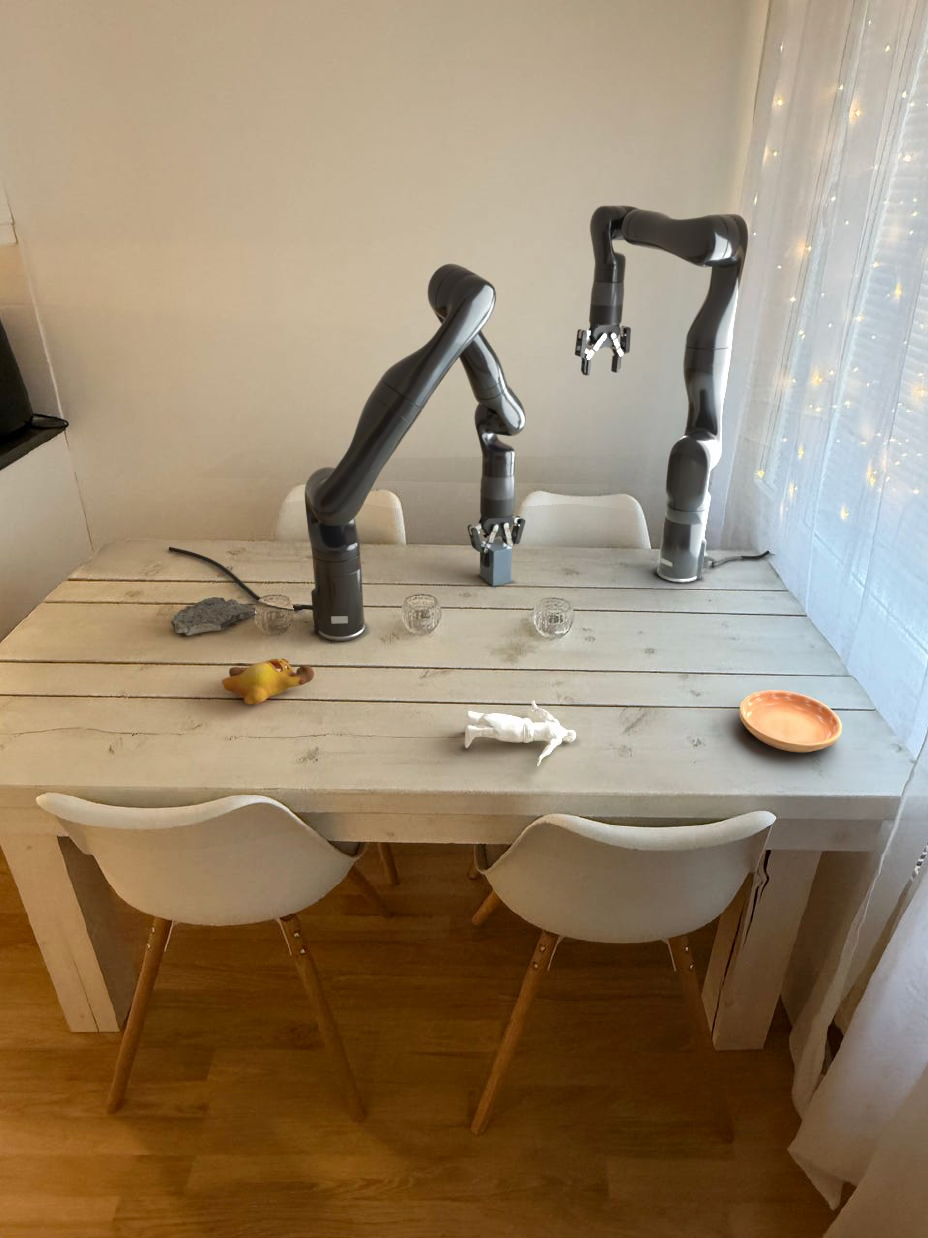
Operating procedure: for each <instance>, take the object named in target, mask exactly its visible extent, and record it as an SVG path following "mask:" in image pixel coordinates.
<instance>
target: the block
mask: <svg viewBox="0 0 928 1238" xmlns="http://www.w3.org/2000/svg"><path fill="white" fill-rule="evenodd" d="M512 561H513V547H512V548H511V547H510V546H508V545H507V544H506V543H504V542H503V541H502V539H500V538H494V541H493V543H492V544H491V546H490V549H489V567H486V568H485V567H484V566H483V565H482V564H481V563H480V562H479V576H480V577H481V578H482V579H483V580H485V581H486V582H487V583H488V584H490V585H491V586H492V587H495V586H496V587H497V586H500V585H503V584H509V583H511V582H512Z"/></svg>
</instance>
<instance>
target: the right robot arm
mask: <svg viewBox="0 0 928 1238" xmlns="http://www.w3.org/2000/svg"><path fill="white" fill-rule="evenodd" d="M589 233H590V241H591V245H592V246H591V247H592V252H593V258H594V267H593V279H592V280H593V281H592V286H591V292H590V304H589V316H588V317H589V318H588V322H589V328H588V329H581V328H579V329H577V332H576V340H575V348H574V355H575V356H576V357H579V358H581V366H580V372H581V374H582V375H583V376H590V375H591V366H592V359H591V358H592V357H593V356H594V354H595V353H596V352H597V351H598V350H599V349H604V348H607V349H610V350H611V351H612V354H613V355H612V356H611V357H612V358H611V365H610V366H611V368H610V370H611V372H612V373H615V374H616V373H619V372H620V370H621V366H622V357H623V356H624V355H625V354H629V353H630V351H631V336H632V335H631V334H632V333H631V332H632V328H631V327H630V326H626V325H622V326H621V327H620V325H621V324H622V321H623V320H622V319H623V310H624V299H625V278H626V266H627V257H626V256H625V254H623V253H621V252H618V251H615V250H614V245H613V241H625V242H626V243H627V244H629V245H632V246H636V247H641V248H646V249H651V250H656V251H662V252H666V253H668V254H670V255H673V256H676V257H677V258H679V259H681V260H683V261H685V262H687V263H689V264H691V265H693V266H696V267H699V268H711V269H710V270H711V271H710V279H709V286H708V289H707V293H706V295H705V298H704V300H703V302H702V304H701V306H700V307H699V310H698V311H697V312H696V314H695V316H694V318H693V320H692V322H691V324H690V326H689V328H688V330H687V332H686V336H685V340H684V341H685V342H684V349H683V350H684V351H683V361H682V362H683V363H682V375H683V380H684V381H683V382H684V386H685V391H686V396H687V404H688V405H687V418H686V424H685V430H684V435H683V437H681V438H680V439H678V440H677V441H676V442H675V443H674V444H673V445H672V447H671V449H670V452H669V456H668V461H667V470H666V480H665V481H666V482H665V493H666V504H665V510H664V517H663V526H662V533H661V542H660V548H659V555H658V563H657V567H656V574H657V575H658V577H660V578H661V579H664V580H666V581H669V582H673V583H691V582H694V581H696V580H701V578H702V572H703V569H708V566H709V565H708V564H709V561H710V562H711V566H712V567H714V568H715V567H718V566H720V565H722V564H724V563H726V562H728V561H731V560H759V559H762V558H765V557H766V556H768V555H769V554H770V553H769V551H768V550H766V551H765V552H763V553H761V554H758V555H731V556H726V557H724V558H722V559H720V560H718V561H717V560H716V558H714V557H711V556H710V555H709V554H708V553H707V552H706V548H707V540H706V539H705V532H706V526H707V522H708V521H707V520H708V515H709V508H710V503H711V494H710V493H709V491H708V490H709V489H708V488H709V481H710V476H711V475H710V474H711V470H712V469H713V468H714V467H715V466H716V465H717V463H718V462H719V460H720V458H721V456H722V445H723V444H722V440H723V439H722V433H723V431H722V430H723V427H722V424H723V423H722V422H723V419H722V418H723V405H724V399H725V394H726V389H727V382H728V374H729V368H730V362H731V353H732V344H733V330H734V323H735V316H736V310H737V301H738V296H739V290H740V286H741V280H742V275H743V270H744V267H745V262H746V258H747V254H748V253H747V252H748V245H749V229H748V224H747V222H746V220H745V219H744V218H743V216H741V215H740V214H736V213H723V214H721V213H720V214H719V213H718V214H707V215H704V216H700V217H692V218H683V219H682V218H681V219H680V218H679V219H678V218H672V217H671V216H669V215H667V214H665V213H664V212H659V211H654V210H648V209H640V208H639V207H635V206H632V205H601V206H598V207H597V208H596V209H595V210H594V212H593V213H592V215H591V218H590V222H589ZM618 337H619V340H618Z"/></svg>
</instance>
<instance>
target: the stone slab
mask: <svg viewBox="0 0 928 1238" xmlns="http://www.w3.org/2000/svg"><path fill="white" fill-rule="evenodd" d="M255 610H256V607H255V606H253V605H252V604H246V603H243V604H241V603H239V601H237V600H236V599H232V598H231V599H228V600H226V599H225V598H224V597H217V596H212V597H208V598H203V600H200V601H198V602H196V603H195V604H193V605H186V606H185V607H184V608H183V609H180V610H179V611H178V612H177V613H176V614H174V615H173V617H172V619H171V621H170V623H171V626H173V629H174V633H177V634H182V635H184V636H186V637H187V636H194V635H197V634H201V633H207V632H216V631H218V632H219V631H222V630H224V629H225V628H227V627H228V626H229V625H230V624H232V623H233V622H236V621H239V620H245V619H246V618H248V617H252V616H255V615H256V614H255Z"/></svg>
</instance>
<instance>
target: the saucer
mask: <svg viewBox="0 0 928 1238" xmlns="http://www.w3.org/2000/svg"><path fill="white" fill-rule="evenodd" d="M739 718H740V721H741V722H742V724H743V726H744V727H745V728H746V729H747V730H748V732H750V734H752V735H753V736H754V737H755V738H756V739H757V740H759V741H761V742H762V743H764V744H766V745H768V746H770V747H772V748H773V749H777V750H778V749H779V750H781V751H785V752H791V753H812V752H815V751H820V750H822V749H823V750H824V749H826V748H828V747H830V746H832V745H834V744H835V743H837V741H838V740H839V738H840V736H841V734H842V732H843V731H842V730H843V726H842V721H841V719H840V718H839V716H838V714H836V712H835V711H833V710H832V709H831V708H830V707H828V706H827V705H826V704H824V703H822V702H821V701H819V700H817V699H814V698H812V697H810V696H808V695H804V694H800V693H798V692H792V691H788V690H787V691H786V690H777V689H776V690H775V689H773V690H762V691H757V692H753V693H751V694H749V695H747V696H746V697H745V698H743V700H742V701H741V702H740V705H739Z"/></svg>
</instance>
